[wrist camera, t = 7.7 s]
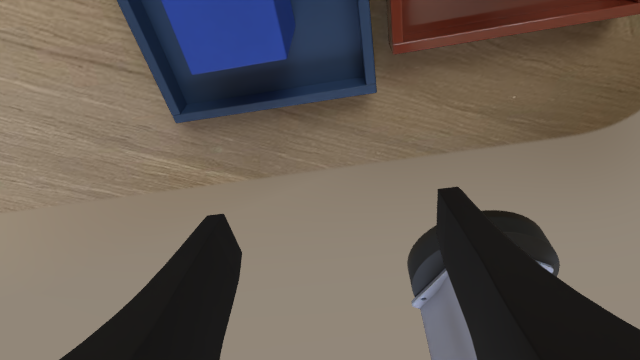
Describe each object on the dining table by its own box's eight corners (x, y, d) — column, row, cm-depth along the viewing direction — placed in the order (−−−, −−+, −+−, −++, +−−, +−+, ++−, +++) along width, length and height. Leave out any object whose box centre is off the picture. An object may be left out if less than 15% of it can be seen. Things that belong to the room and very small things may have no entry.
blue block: (296, 26, 17) (287, 59, 14) (218, 40, 18) (191, 75, 14) (275, -72, 15) (259, -62, 12) (186, -53, 16) (144, -38, 12)
